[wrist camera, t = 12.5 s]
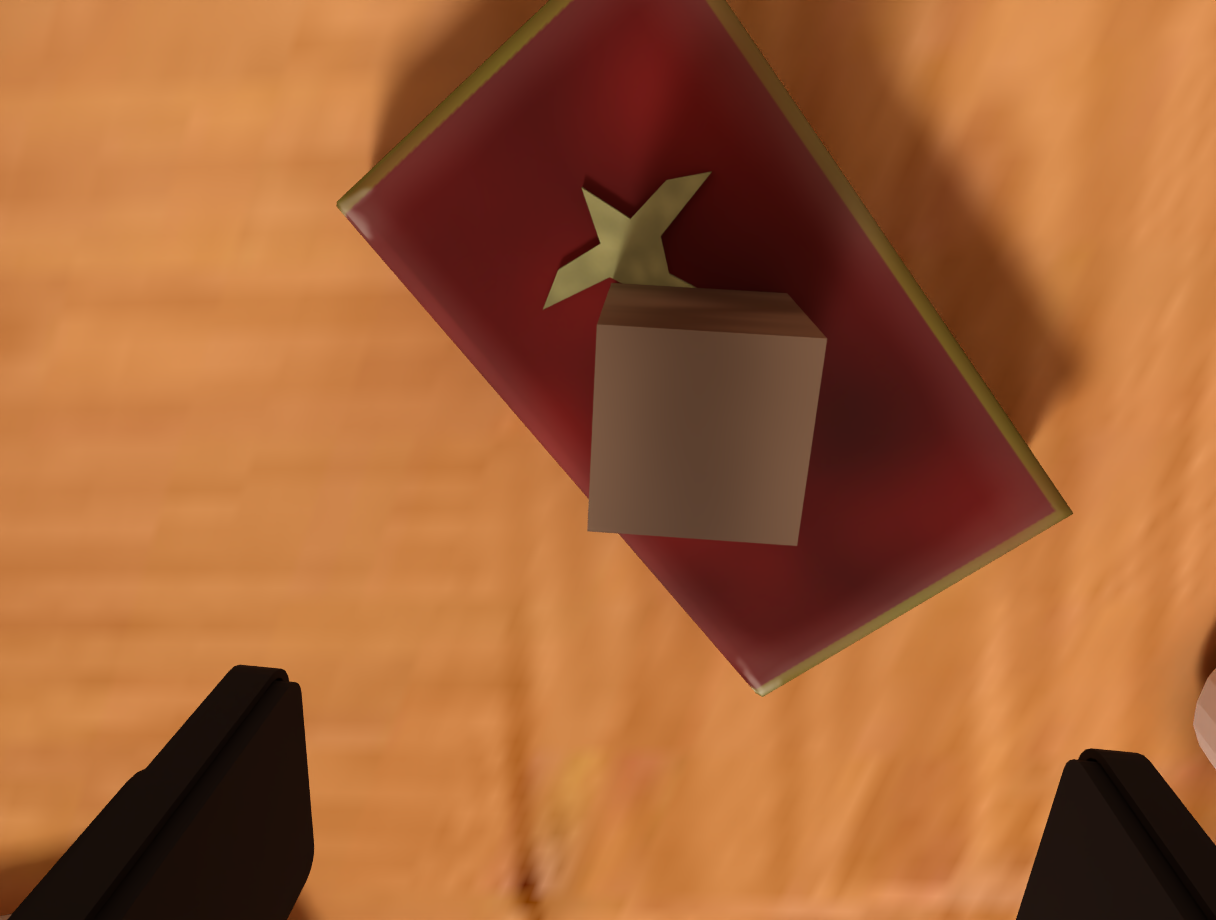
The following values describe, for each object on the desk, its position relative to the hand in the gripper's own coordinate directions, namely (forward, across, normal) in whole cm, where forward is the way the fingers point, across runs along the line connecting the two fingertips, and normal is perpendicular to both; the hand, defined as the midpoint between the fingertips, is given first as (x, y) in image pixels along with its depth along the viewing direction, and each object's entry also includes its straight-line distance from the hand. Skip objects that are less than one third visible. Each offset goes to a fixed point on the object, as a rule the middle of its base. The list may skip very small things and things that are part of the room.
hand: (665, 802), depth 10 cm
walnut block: (+16, 0, -1) cm, 16 cm away
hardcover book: (+20, -1, -2) cm, 20 cm away
